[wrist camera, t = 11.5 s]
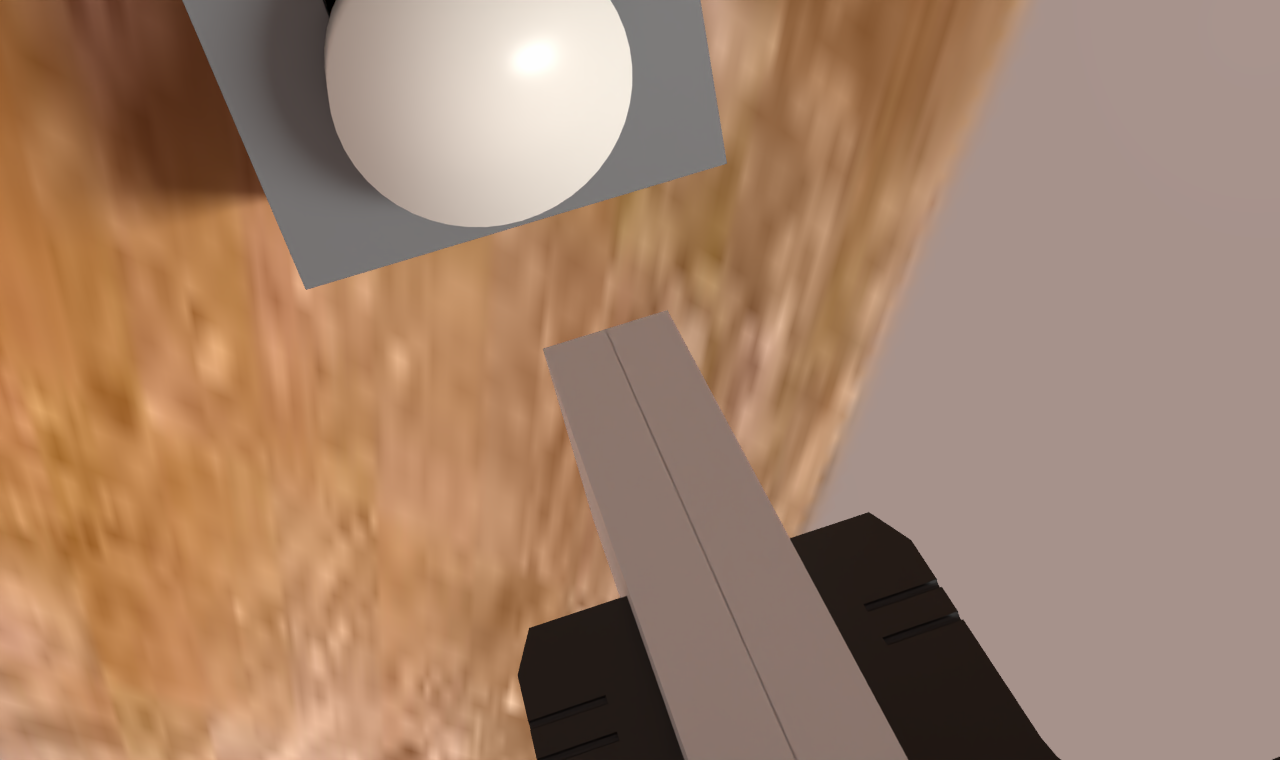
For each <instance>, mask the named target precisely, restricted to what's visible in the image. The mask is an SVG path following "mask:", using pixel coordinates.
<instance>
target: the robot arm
mask: <svg viewBox="0 0 1280 760" xmlns="http://www.w3.org/2000/svg"><path fill="white" fill-rule="evenodd" d="M543 351H544V354H545V358H546V361H547V364H548V368H549V371H550V374H551V378H552V381H553V385H554V388H555V391H556V395H557V398H558V401H559V405H560V408H561V412H562V415H563V418H564V422H565V425H566V429H567V432H568V435H569V439H570V442H571V445H572V449H573V452H574V456H575V459H576V462H577V466H578V469H579V472H580V476H581V479H582V483H583V486H584V489H585V493H586V496H587V500H588V503H589V506H590V510H591V513H592V516H593V520H594V523H595V526H596V528H597V531H598V534H599V537H600V540H601V543H602V546H603V549H604V552H605V555H606V558H607V560H608V563H609V566H610V569H611V572H612V575H613V578H614V581H615V584H616V587H617V590H618V593H619V595H620V598H618V599H615V600H612V601H609V602H606V603H603V604H600V605H597V606H594V607H591V608H588V609H585V610H582V611H579V612H576V613H573V614H570V615H567V616H564V617H561V618H558V619H555V620H552V621H549V622H546V623H543V624H540V625H537V626H534V627H531V628H529V631H528V635H527V639H526V643H525V647H524V651H523V655H522V660H521V664H520V668H519V672H518V679H519V683H520V687H521V692H522V696H523V701H524V705H525V709H526V714H527V718H528V722H529V725H530V729H531V730H530V731H531V736H532V740H533V744H534V749H535V753H536V758H537V760H1061V759H1059V758H1058V757H1057V756H1056V755H1055V754H1054V753H1053V751H1052V750H1051V749H1050V748H1049V747H1048V746H1047V744H1046V743H1045V742H1044V741H1043V740H1042V738H1041V737H1040V736H1039V734H1038V732H1037V731H1036V730H1035V728H1034V726H1033V725H1032V723H1031V722H1030V720H1029V719H1028V717H1027V716H1026V714H1025V713H1024V711H1023V710H1022V708H1021V707H1020V705H1019V704H1018V702H1017V701H1016V699H1015V697H1014V696H1013V695H1012V693H1011V691H1010V690H1009V688H1008V687H1007V685H1006V684H1005V682H1004V681H1003V679H1002V678H1001V676H1000V675H999V673H998V672H997V670H996V669H995V667H994V666H993V664H992V663H991V661H990V660H989V658H988V656H987V655H986V653H985V652H984V651H983V649H982V648H981V646H980V644H979V643H978V641H977V640H976V638H975V637H974V635H973V634H972V632H971V631H970V629H969V628H968V626H967V625H966V623H965V622H964V620H961V619H960V617H959V614H958V611H957V609H956V608H955V606H954V605H953V603H952V602H951V600H950V599H949V597H948V596H947V594H946V593H945V591H944V590H943V588H942V587H939V585H938V583H937V579H936V577H935V576H934V574H933V573H932V571H931V570H930V568H929V567H928V565H927V564H926V562H925V561H924V559H923V558H922V556H921V555H920V553H919V552H918V550H917V548H916V547H915V546H914V544H913V542H912V541H911V540H910V539H909V538H907V537H906V536H904V535H903V534H901V533H900V532H898V531H896V530H895V529H894V528H892V527H891V526H889V525H887V524H886V523H884V522H883V521H881V520H880V519H878V518H877V517H875V516H874V515H872V514H871V513H869V512H868V513H865V514H862V515H859V516H856V517H853V518H850V519H847V520H844V521H841V522H838V523H835V524H832V525H829V526H826V527H823V528H820V529H817V530H814V531H811V532H808V533H805V534H802V535H799V536H796V537H793V538H789V536H788V534H787V533H786V531H785V529H784V527H783V525H782V523H781V521H780V520H779V518H778V516H777V514H776V512H775V510H774V508H773V506H772V505H771V503H770V501H769V499H768V497H767V495H766V493H765V492H764V490H763V488H762V486H761V484H760V482H759V480H758V478H757V477H756V475H755V473H754V471H753V469H752V467H751V465H750V464H749V462H748V460H747V458H746V456H745V454H744V452H743V450H742V449H741V447H740V445H739V443H738V441H737V439H736V437H735V436H734V434H733V432H732V430H731V428H730V426H729V424H728V422H727V421H726V419H725V417H724V415H723V413H722V411H721V409H720V408H719V406H718V404H717V402H716V400H715V398H714V396H713V394H712V393H711V391H710V389H709V387H708V385H707V383H706V381H705V380H704V378H703V376H702V374H701V372H700V370H699V368H698V366H697V365H696V363H695V361H694V359H693V357H692V355H691V353H690V352H689V350H688V348H687V346H686V344H685V342H684V340H683V338H682V337H681V335H680V333H679V331H678V329H677V327H676V325H675V324H674V322H673V320H672V318H671V316H670V314H669V312H668V310H667V311H663V312H660V313H657V314H654V315H650V316H647V317H644V318H641V319H638V320H634V321H631V322H628V323H625V324H621V325H618V326H615V327H612V328H608V329H605V330H602V331H599V332H596V333H592V334H589V335H586V336H583V337H579V338H576V339H573V340H570V341H567V342H563V343H560V344H557V345H554V346H550V347H547V348H544V349H543ZM1273 760H1280V757H1278V758H1275V759H1273Z"/></svg>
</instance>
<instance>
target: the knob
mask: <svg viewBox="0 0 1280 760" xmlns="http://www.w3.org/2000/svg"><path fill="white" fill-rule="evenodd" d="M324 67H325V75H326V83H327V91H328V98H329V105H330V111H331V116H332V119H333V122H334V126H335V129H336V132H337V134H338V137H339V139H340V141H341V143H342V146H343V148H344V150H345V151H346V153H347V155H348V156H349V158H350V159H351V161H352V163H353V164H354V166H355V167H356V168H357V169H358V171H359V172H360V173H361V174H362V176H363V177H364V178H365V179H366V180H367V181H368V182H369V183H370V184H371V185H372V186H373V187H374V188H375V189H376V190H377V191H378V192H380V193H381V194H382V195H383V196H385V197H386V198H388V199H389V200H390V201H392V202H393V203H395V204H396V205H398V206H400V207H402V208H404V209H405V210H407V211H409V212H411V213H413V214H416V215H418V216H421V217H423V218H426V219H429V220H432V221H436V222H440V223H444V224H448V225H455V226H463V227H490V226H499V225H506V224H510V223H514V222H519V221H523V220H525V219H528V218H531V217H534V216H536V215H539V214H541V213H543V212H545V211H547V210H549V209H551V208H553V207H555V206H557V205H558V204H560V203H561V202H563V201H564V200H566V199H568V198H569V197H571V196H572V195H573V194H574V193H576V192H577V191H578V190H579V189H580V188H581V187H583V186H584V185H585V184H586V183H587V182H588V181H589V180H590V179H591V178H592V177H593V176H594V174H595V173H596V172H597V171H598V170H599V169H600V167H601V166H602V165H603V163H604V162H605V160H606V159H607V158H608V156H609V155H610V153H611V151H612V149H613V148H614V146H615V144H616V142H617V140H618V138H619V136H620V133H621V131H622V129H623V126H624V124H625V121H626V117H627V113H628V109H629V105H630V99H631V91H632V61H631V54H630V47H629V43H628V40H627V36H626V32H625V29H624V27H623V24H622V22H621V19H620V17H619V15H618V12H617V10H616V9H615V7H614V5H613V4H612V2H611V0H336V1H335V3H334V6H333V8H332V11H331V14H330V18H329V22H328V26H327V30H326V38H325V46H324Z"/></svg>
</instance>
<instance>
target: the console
mask: <svg viewBox="0 0 1280 760" xmlns="http://www.w3.org/2000/svg"><path fill="white" fill-rule="evenodd" d="M182 1H183V3H184V5H185V8H186V10H187V12H188V15H189V17H190V19H191V22H192V24H193V26H194V29H195V31H196V33H197V36H198V38H199V40H200V43H201V45H202V47H203V50H204V52H205V54H206V57H207V59H208V61H209V64H210V66H211V68H212V71H213V73H214V76H215V78H216V80H217V83H218V85H219V87H220V90H221V92H222V94H223V97H224V99H225V101H226V104H227V106H228V108H229V111H230V113H231V115H232V118H233V120H234V122H235V125H236V127H237V129H238V132H239V134H240V136H241V139H242V141H243V143H244V146H245V148H246V151H247V153H248V155H249V158H250V160H251V162H252V165H253V167H254V169H255V172H256V174H257V176H258V179H259V181H260V183H261V186H262V188H263V190H264V193H265V195H266V197H267V200H268V202H269V204H270V207H271V209H272V211H273V214H274V216H275V218H276V221H277V223H278V225H279V228H280V230H281V233H282V235H283V237H284V240H285V242H286V244H287V247H288V249H289V251H290V254H291V256H292V258H293V261H294V263H295V265H296V268H297V270H298V272H299V275H300V277H301V279H302V282H303V284H304V286H305V289H306V290H307V289H310V288H314V287H317V286H320V285H324V284H327V283H330V282H334V281H337V280H340V279H344V278H347V277H350V276H354V275H357V274H360V273H364V272H367V271H370V270H374V269H377V268H380V267H384V266H387V265H390V264H394V263H397V262H400V261H404V260H407V259H410V258H414V257H417V256H420V255H424V254H427V253H430V252H434V251H437V250H440V249H444V248H447V247H450V246H454V245H457V244H460V243H464V242H467V241H470V240H474V239H477V238H480V237H484V236H487V235H490V234H494V233H497V232H500V231H504V230H507V229H510V228H514V227H517V226H520V225H524V224H527V223H530V222H534V221H537V220H540V219H544V218H547V217H550V216H554V215H557V214H560V213H564V212H567V211H570V210H574V209H577V208H580V207H584V206H587V205H590V204H594V203H597V202H600V201H604V200H607V199H610V198H614V197H617V196H620V195H624V194H627V193H630V192H634V191H637V190H640V189H644V188H647V187H650V186H654V185H657V184H660V183H664V182H667V181H670V180H674V179H677V178H680V177H684V176H687V175H690V174H694V173H697V172H700V171H704V170H707V169H710V168H714V167H717V166H720V165H724V164H727V161H726V155H725V149H724V143H723V137H722V130H721V124H720V118H719V112H718V106H717V100H716V94H715V87H714V81H713V75H712V69H711V63H710V57H709V50H708V44H707V38H706V32H705V26H704V20H703V14H702V7H701V1H700V0H611V2H612V4H613V5H614V7H615V9H616V10H617V12H618V15H619V17H620V19H621V22H622V24H623V27H624V29H625V32H626V36H627V40H628V43H629V47H630V54H631V61H632V91H631V99H630V105H629V109H628V113H627V117H626V121H625V124H624V126H623V129H622V131H621V133H620V136H619V138H618V140H617V142H616V144H615V146H614V148H613V149H612V151H611V153H610V155H609V156H608V158H607V159H606V160H605V162H604V163H603V165H602V166H601V167H600V169H599V170H598V171H597V172H596V173H595V174H594V176H593V177H592V178H591V179H590V180H589V181H588V182H587V183H586V184H585V185H584V186H583V187H581V188H580V189H579V190H578V191H577V192H576V193H574V194H573V195H572V196H571V197H569V198H568V199H566V200H564V201H563V202H561V203H560V204H558V205H557V206H555V207H553V208H551V209H549V210H547V211H545V212H543V213H541V214H539V215H536V216H534V217H531V218H528V219H525V220H523V221H519V222H514V223H510V224H506V225H499V226H490V227H463V226H455V225H448V224H444V223H440V222H436V221H432V220H429V219H426V218H423V217H421V216H418V215H416V214H413V213H411V212H409V211H407V210H405V209H404V208H402V207H400V206H398V205H396V204H395V203H393V202H392V201H390V200H389V199H388V198H386V197H385V196H383V195H382V194H381V193H380V192H378V191H377V190H376V189H375V188H374V187H373V186H372V185H371V184H370V183H369V182H368V181H367V180H366V179H365V178H364V177H363V176H362V174H361V173H360V172H359V171H358V169H357V168H356V167H355V166H354V164H353V163H352V161H351V159H350V158H349V156H348V155H347V153H346V151H345V150H344V148H343V146H342V143H341V141H340V139H339V137H338V134H337V132H336V129H335V126H334V122H333V119H332V116H331V111H330V105H329V98H328V91H327V83H326V75H325V67H324V46H325V38H326V30H327V26H328V22H329V18H330V13H329V10H328V7H327V4H326V1H325V0H182Z"/></svg>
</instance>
